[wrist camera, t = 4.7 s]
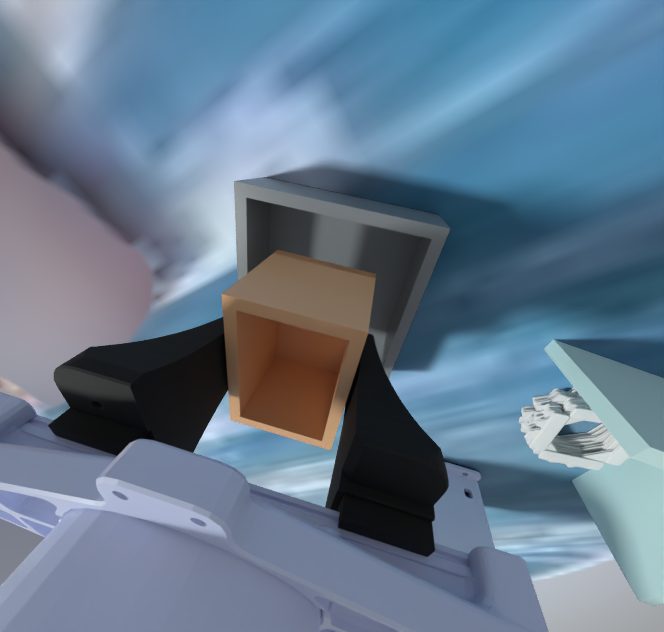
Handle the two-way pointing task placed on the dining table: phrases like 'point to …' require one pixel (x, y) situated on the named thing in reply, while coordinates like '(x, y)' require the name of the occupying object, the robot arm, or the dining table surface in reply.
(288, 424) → the small crate
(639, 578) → the l-shaped corner panel
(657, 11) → the dining table surface
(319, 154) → the dining table surface
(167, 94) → the dining table surface
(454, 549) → the robot arm
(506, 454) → the dining table surface
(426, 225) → the big crate
